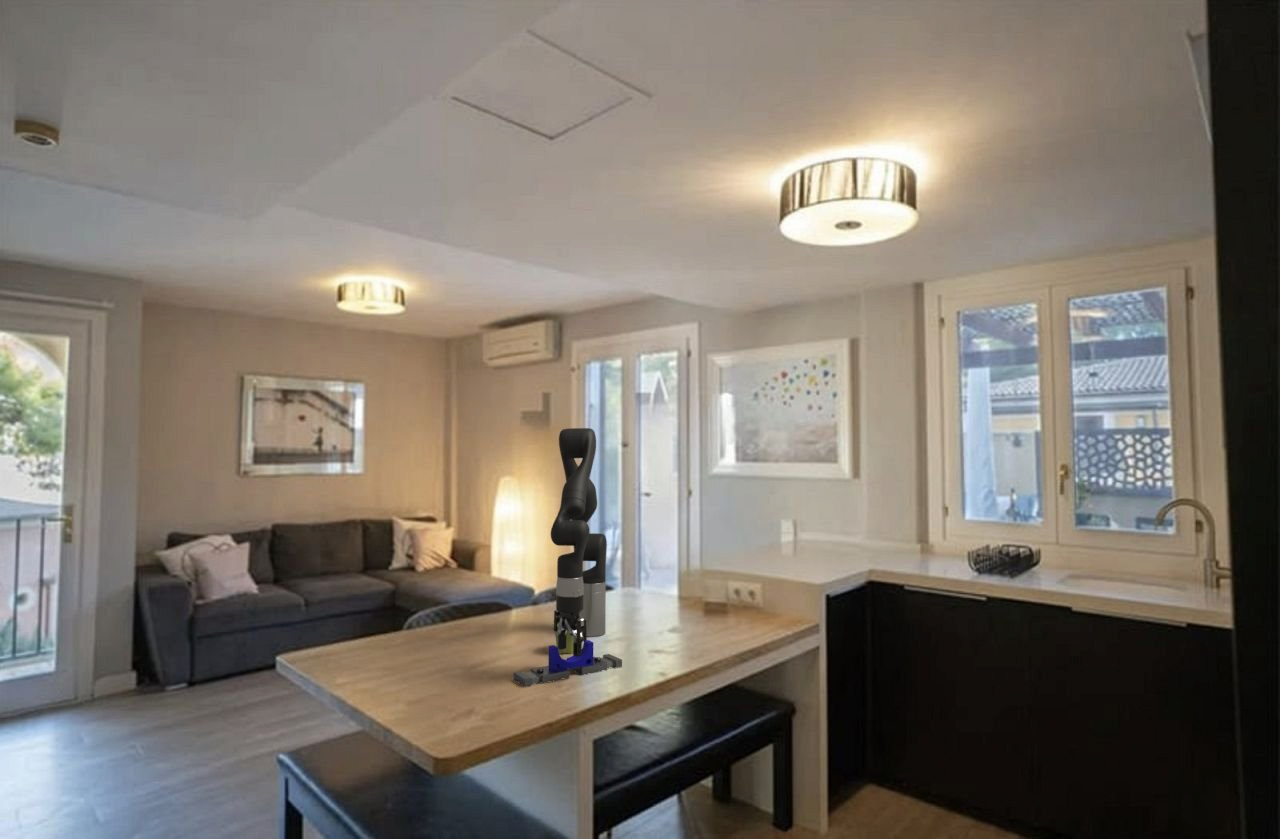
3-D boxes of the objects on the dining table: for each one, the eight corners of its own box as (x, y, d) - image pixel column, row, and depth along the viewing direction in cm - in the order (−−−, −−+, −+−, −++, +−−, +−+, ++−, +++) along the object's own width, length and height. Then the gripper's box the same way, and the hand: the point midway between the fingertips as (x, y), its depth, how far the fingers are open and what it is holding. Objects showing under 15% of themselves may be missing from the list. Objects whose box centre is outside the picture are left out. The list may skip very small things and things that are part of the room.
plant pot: (589, 651, 212) (589, 622, 212) (566, 657, 205) (566, 627, 206) (569, 645, 218) (569, 617, 219) (545, 651, 211) (545, 622, 212)
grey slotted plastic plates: (513, 679, 185) (513, 670, 185) (608, 660, 202) (608, 651, 202) (525, 687, 179) (525, 676, 179) (622, 666, 196) (622, 657, 196)
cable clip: (586, 660, 196) (586, 638, 196) (593, 664, 192) (593, 642, 192) (546, 666, 190) (546, 644, 190) (552, 671, 186) (552, 648, 186)
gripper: (545, 590, 195) (545, 648, 195) (570, 599, 184) (570, 661, 183) (569, 587, 200) (568, 644, 199) (595, 595, 188) (594, 656, 187)
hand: (569, 652), depth 191 cm, fingers open, 8 cm apart
